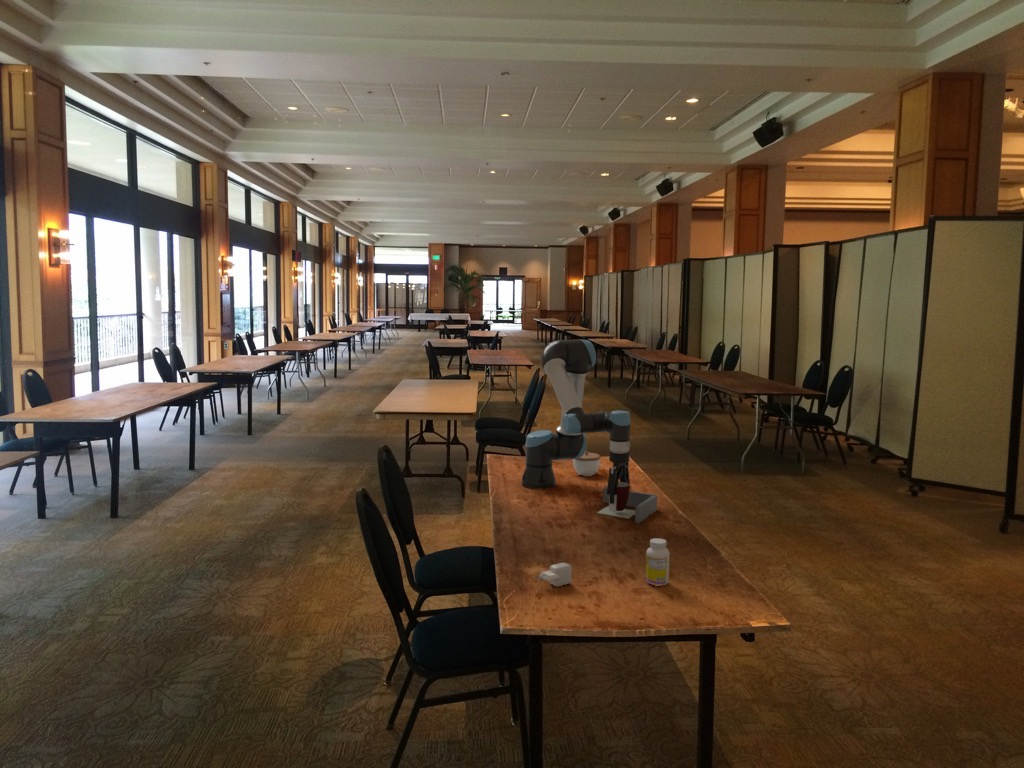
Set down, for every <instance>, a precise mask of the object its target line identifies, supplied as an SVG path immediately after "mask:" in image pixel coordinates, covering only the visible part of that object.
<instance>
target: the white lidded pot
mask: <svg viewBox="0 0 1024 768" xmlns="http://www.w3.org/2000/svg"><path fill="white" fill-rule="evenodd" d="M600 462H601V455H600V454H598V453H595V452H589V451H588V450H585V453H584V454H583V456H581V457H580V458H575V459H572V463H573V467H574V471H576V473H577V474H578V475H579V476H580V475H583V476H582V477H593V476H594V475H595V474H596V473H597V472H598V470H599V468H600ZM592 475H593V476H592Z"/></svg>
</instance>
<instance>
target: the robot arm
mask: <svg viewBox="0 0 1024 768" xmlns="http://www.w3.org/2000/svg"><path fill="white" fill-rule="evenodd" d="M596 353H597V352H596V349H595V346H594V344H593V343H592V342H591V341H590V340H587V339H581V338H579V339H557V340H554V341H551V342H550V343H548V344H547V345H546V346H545V347H544V349H543V351H542V354H541V358H540V365H541V368H542V371H543V373H544V374H545V375H547V376H548V379H549V380H550V384H551V385H552V388H553V390H554V393H555V395H556V398H557V400H558V403H559V405H560V407H561V414H560V423H559V425H558V426H557V427H556V431H555V433H553V431H552V430H547V429H545V430H543V429H542V430H535V431H531V432H530V433H528V434H527V435H526V439H525V443H524V444H525V468H524V471H523V474H522V477H521V483H522V484H521V486H523V485H524V486H523V487H525V486H526V487H525V488H528V487H530V488H529V489H536V488H544V489H551V488H553V487H555V486H557V480H556V476H555V472H554V469H553V461H562V460H573V459H575V458H580V457H581V456H583V454H584V453H585V451H587V444H588V443H587V437H586V434H591V433H605V432H606V433H609V450H610V451H609V457H608V458H609V461H610V462H611V463H612V467H609V471H608V473H609V474H608V479H607V480H608V481H607V486H606V487H607V494H608V495H609V503H608V506H609V511H611V512H616V502H617V495H616V487H617V486H618V482H625V483H628V484H630V485H631V482H630V481H631V480H630V471H629V469H630V468H629V464H630V463H629V462H630V452H629V451H630V447H631V443H630V440H631V423H632V422H631V413H630V412H629V411H628V410H627V411H626V410H620V409H618V410H612V411H611V412H610V411H609V410H608V411H606V410H601V411H598V412H592V413H591V412H589V413H587V412H585V411H584V409H583V408H584V407H583V399H584V390H585V381H586V376H587V375H588V374H589V373H590V369H591V368H592V367H594V366H595V365H596V363H597V354H596Z"/></svg>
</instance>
